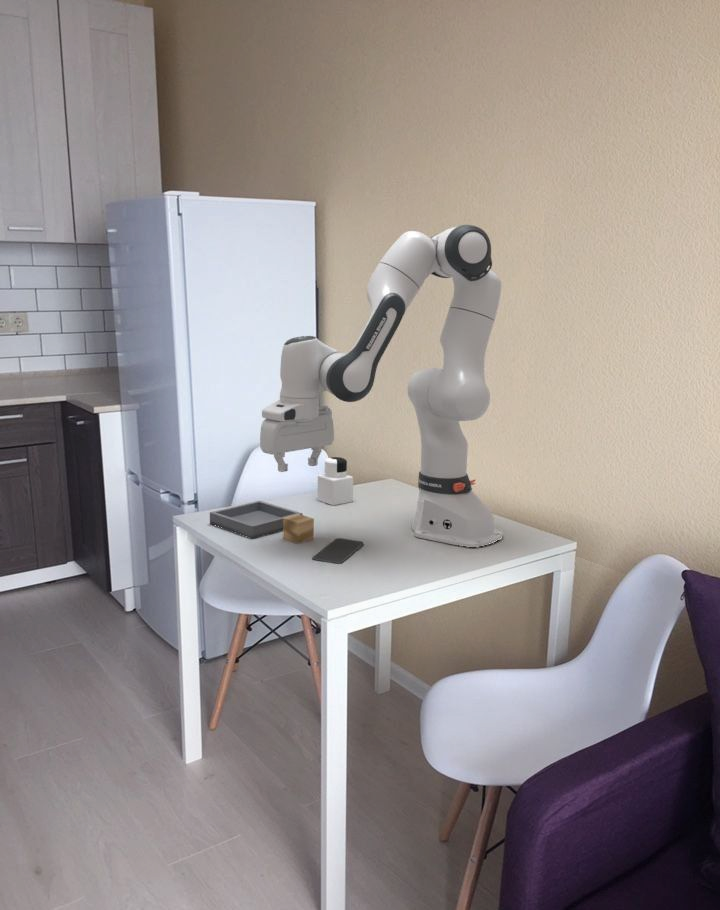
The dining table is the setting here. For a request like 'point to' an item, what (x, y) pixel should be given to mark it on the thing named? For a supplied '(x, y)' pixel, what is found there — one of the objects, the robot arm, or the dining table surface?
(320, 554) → the smartphone
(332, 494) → the medicine bottle
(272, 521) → the sorting tray
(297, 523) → the oversize block
